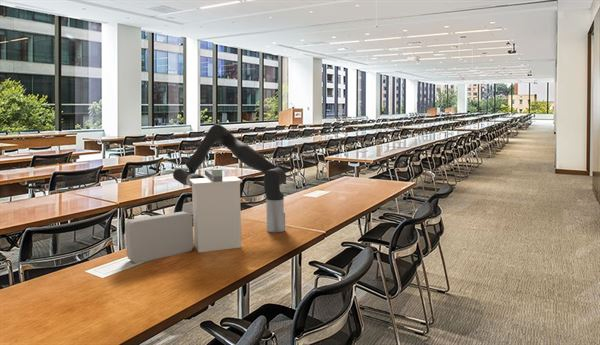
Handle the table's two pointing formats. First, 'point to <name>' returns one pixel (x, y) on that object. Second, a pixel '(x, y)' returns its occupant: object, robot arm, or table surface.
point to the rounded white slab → (158, 236)
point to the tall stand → (216, 213)
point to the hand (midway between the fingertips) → (211, 186)
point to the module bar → (214, 174)
